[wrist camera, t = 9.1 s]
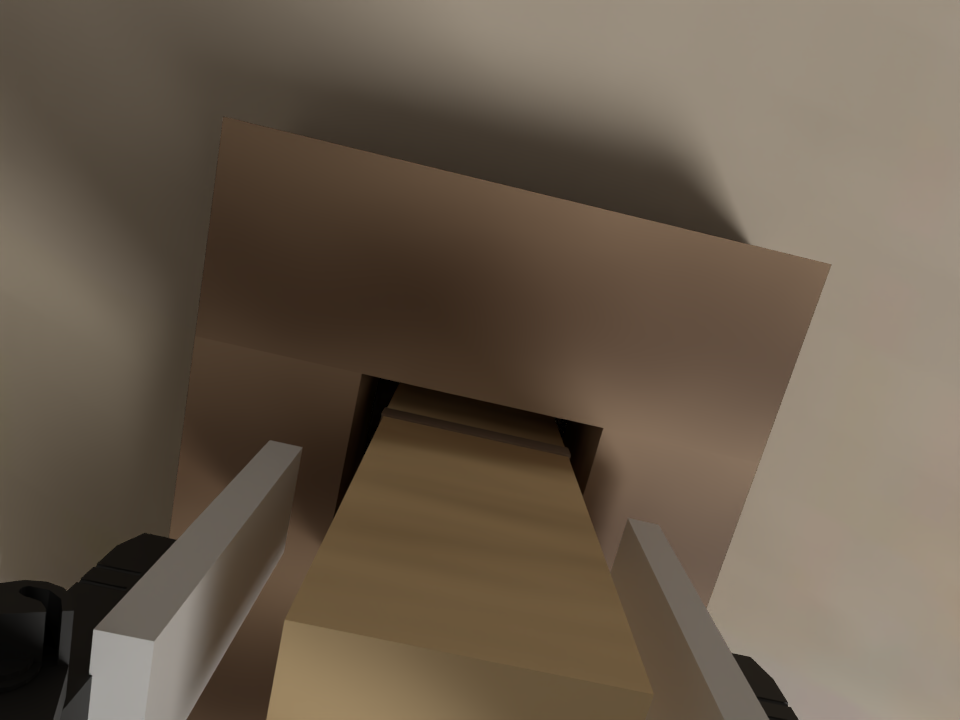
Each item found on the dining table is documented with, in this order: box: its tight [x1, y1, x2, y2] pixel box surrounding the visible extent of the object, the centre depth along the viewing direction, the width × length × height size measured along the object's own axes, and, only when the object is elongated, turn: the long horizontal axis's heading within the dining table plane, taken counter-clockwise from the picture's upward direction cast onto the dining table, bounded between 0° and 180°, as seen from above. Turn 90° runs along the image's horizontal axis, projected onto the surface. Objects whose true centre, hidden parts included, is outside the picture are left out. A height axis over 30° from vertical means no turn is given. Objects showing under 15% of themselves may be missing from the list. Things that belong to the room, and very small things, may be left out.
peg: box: [266, 382, 654, 720], centre depth 14 cm, size 5×5×12 cm
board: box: [169, 117, 831, 720], centre depth 18 cm, size 16×14×4 cm
